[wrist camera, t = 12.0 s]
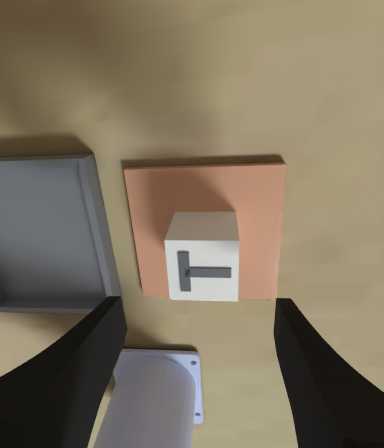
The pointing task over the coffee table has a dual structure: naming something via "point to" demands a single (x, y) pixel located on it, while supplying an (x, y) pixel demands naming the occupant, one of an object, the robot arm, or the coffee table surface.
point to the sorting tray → (54, 236)
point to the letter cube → (203, 256)
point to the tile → (209, 202)
